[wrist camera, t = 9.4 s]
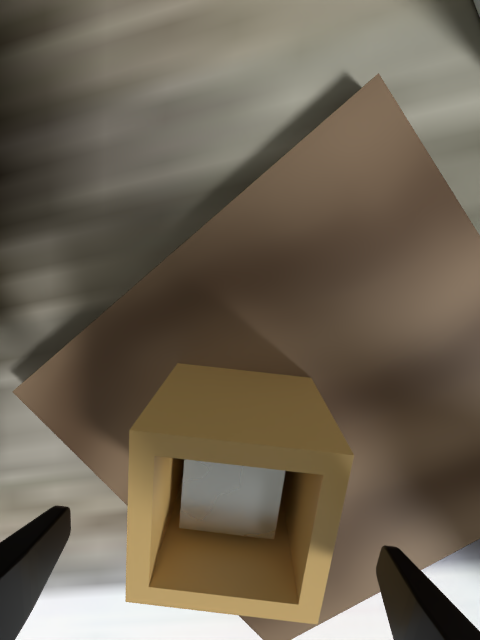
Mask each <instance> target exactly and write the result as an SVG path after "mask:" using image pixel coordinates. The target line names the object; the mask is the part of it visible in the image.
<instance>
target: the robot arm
mask: <svg viewBox="0 0 480 640" xmlns="http://www.w3.org/2000/svg"><path fill="white" fill-rule="evenodd" d="M70 531H71V519H70V509H69V507H64V506H54V507H52V508H50V509H49V510H47V511H46V512H44V513H43V514H41V515H40V516H38V517H37V518H36V519H34V520H33V521H31V522H30V523H28V524H27V525H25V526H24V527H22V528H21V529H19V530H18V531H16V532H15V533H14V534H12V535H11V536H9V537H8V538H6V539H5V540H3V541H2V542H0V640H15V639H16V637H17V635H18V634H19V632H20V630H21V629H22V627H23V625H24V624H25V622H26V620H27V619H28V617H29V615H30V613H31V612H32V610H33V608H34V606H35V604H36V602H37V600H38V598H39V596H40V594H41V592H42V590H43V588H44V586H45V584H46V582H47V580H48V578H49V576H50V574H51V572H52V570H53V568H54V566H55V565H56V563H57V561H58V559H59V557H60V555H61V553H62V551H63V549H64V547H65V545H66V543H67V541H68V538H69V535H70ZM376 576H377V580H378V584H379V588H380V591H381V595H382V599H383V602H384V606H385V610H386V613H387V617H388V620H389V624H390V628H391V631H392V635H393V639H394V640H480V631H479V630H478V629H477V628H476V627H475V626H474V625H473V624H472V623H471V622H470V621H469V620H468V619H467V618H466V617H465V616H464V615H463V614H462V613H461V612H460V611H459V610H458V609H457V607H456V606H455V605H454V604H453V603H452V602H451V601H450V600H449V599H448V598H447V597H446V596H445V595H444V594H443V593H442V592H441V591H440V590H439V589H438V588H437V587H436V586H435V585H434V584H433V583H432V582H431V581H430V580H429V579H428V577H427V576H426V575H425V574H424V573H423V572H422V571H421V570H420V569H419V568H418V567H417V566H416V565H415V564H414V563H413V562H412V561H411V560H410V559H409V558H408V557H407V556H406V555H405V554H404V553H403V552H402V551H401V550H400V549H399V548H397V547H395V546H386V545H384V546H383V547H382V548H381V551H380V554H379V558H378V562H377V565H376Z"/></svg>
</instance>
